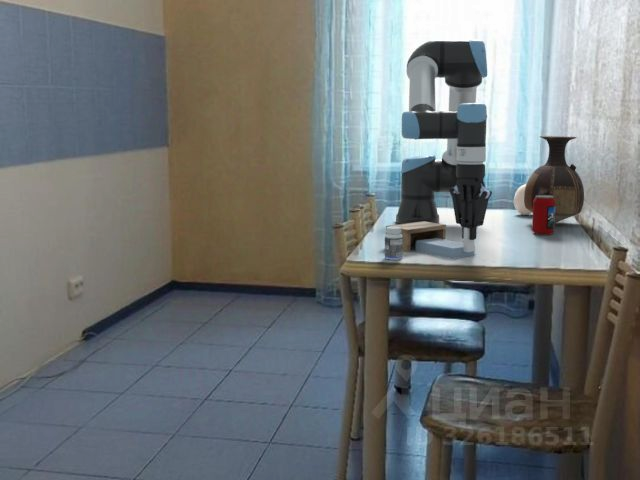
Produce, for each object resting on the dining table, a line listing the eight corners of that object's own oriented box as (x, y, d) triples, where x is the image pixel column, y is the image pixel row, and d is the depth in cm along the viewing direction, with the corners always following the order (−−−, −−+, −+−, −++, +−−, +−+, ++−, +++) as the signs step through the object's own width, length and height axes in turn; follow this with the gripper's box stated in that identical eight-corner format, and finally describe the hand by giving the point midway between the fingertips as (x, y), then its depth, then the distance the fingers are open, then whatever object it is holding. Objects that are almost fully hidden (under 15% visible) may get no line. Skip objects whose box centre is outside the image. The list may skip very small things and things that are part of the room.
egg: (535, 217, 277) (536, 185, 275) (511, 215, 281) (512, 184, 279) (539, 214, 285) (540, 183, 283) (515, 212, 288) (516, 182, 286)
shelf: (385, 247, 218) (386, 226, 217) (423, 241, 227) (423, 221, 226) (407, 251, 211) (407, 229, 210) (445, 245, 220) (445, 224, 219)
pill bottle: (383, 257, 204) (383, 226, 202) (400, 256, 204) (400, 225, 203) (386, 260, 199) (386, 228, 198) (403, 260, 200) (404, 228, 198)
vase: (546, 230, 245) (550, 137, 240) (507, 223, 263) (510, 135, 258) (599, 225, 255) (604, 135, 250) (559, 218, 272) (562, 134, 267)
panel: (415, 251, 214) (415, 240, 213) (436, 248, 218) (436, 237, 217) (452, 259, 201) (453, 248, 201) (474, 256, 206) (474, 245, 205)
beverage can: (555, 235, 236) (556, 197, 234) (532, 235, 237) (534, 197, 235) (553, 232, 242) (554, 194, 240) (531, 231, 244) (532, 194, 242)
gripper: (442, 162, 202) (441, 249, 206) (480, 164, 192) (478, 256, 196) (461, 161, 206) (460, 246, 210) (499, 163, 196) (497, 253, 200)
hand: (468, 251), depth 203 cm, fingers closed
